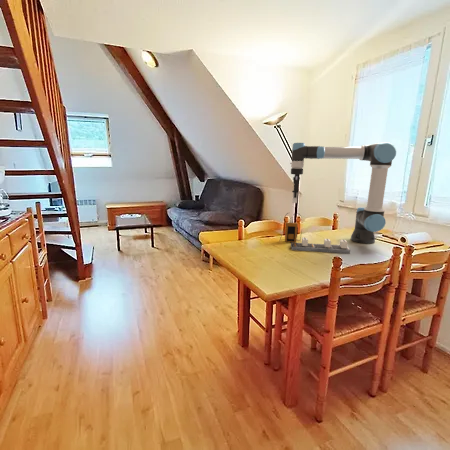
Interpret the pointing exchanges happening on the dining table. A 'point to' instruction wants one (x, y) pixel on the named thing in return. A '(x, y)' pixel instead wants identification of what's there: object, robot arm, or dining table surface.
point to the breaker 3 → (343, 244)
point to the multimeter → (291, 231)
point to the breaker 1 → (304, 241)
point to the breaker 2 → (327, 243)
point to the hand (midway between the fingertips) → (294, 201)
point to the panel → (319, 248)
